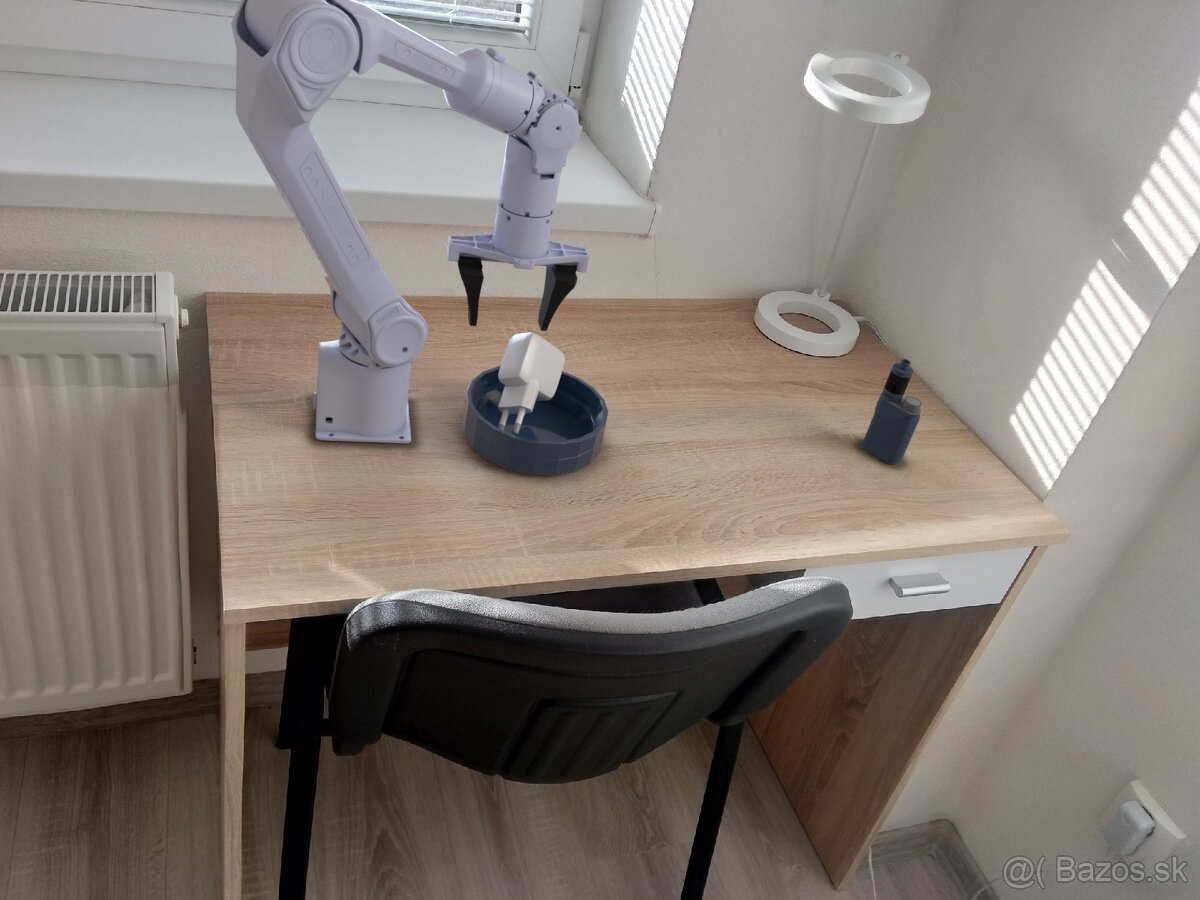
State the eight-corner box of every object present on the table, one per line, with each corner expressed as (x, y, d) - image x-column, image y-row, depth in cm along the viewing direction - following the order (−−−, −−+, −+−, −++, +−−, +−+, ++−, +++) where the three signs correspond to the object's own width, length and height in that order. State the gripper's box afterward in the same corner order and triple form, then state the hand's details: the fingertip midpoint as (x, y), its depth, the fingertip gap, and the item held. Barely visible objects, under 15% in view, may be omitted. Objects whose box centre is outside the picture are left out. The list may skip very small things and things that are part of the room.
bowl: (469, 476, 105) (474, 440, 102) (456, 394, 117) (460, 360, 114) (612, 481, 109) (621, 446, 106) (585, 401, 121) (593, 368, 118)
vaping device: (867, 438, 126) (902, 353, 119) (904, 461, 123) (942, 375, 116) (856, 445, 124) (890, 358, 117) (893, 468, 121) (930, 381, 115)
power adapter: (544, 447, 110) (505, 423, 106) (513, 448, 113) (474, 425, 109) (573, 354, 113) (536, 327, 110) (542, 358, 117) (506, 332, 113)
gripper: (457, 215, 100) (442, 338, 107) (603, 229, 104) (579, 347, 111) (451, 186, 105) (437, 305, 113) (590, 200, 109) (568, 314, 117)
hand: (507, 323), depth 113 cm, fingers open, 7 cm apart
